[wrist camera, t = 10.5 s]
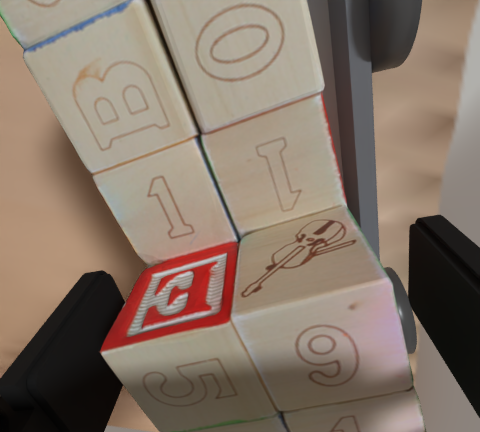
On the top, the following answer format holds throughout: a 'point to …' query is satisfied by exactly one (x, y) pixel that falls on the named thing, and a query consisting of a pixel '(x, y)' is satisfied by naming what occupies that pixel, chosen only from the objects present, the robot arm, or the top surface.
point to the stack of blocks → (224, 214)
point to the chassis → (362, 102)
